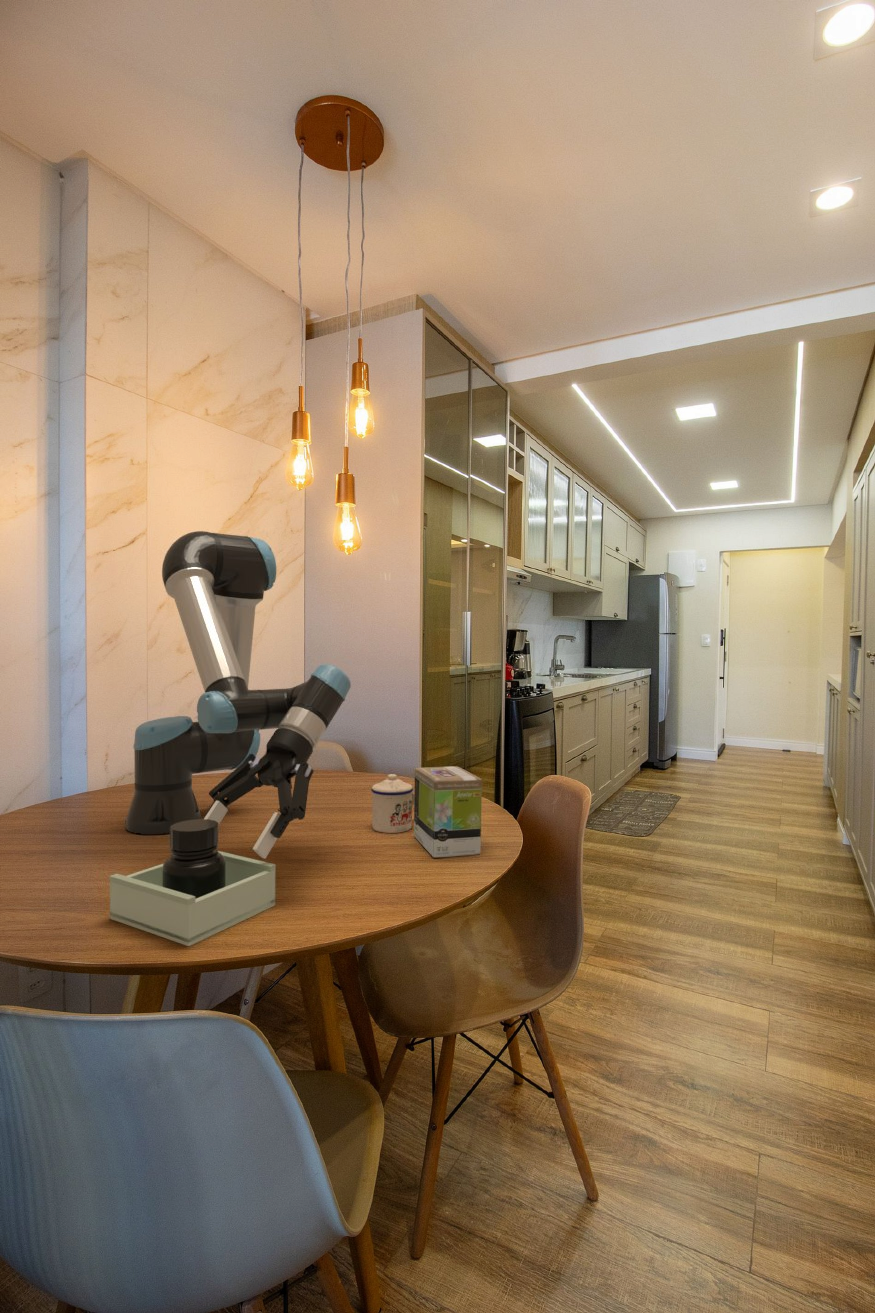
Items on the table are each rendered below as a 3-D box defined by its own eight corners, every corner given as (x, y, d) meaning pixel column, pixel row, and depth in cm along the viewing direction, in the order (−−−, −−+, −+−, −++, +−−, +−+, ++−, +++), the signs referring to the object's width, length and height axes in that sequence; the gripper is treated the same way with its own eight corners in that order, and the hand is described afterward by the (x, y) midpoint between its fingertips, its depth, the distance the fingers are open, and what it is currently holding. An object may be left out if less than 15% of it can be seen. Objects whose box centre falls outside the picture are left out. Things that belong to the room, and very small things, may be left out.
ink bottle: (219, 889, 105) (219, 814, 105) (235, 907, 98) (235, 827, 98) (154, 902, 100) (153, 823, 100) (166, 922, 93) (166, 837, 92)
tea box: (482, 855, 126) (483, 778, 126) (432, 859, 123) (432, 780, 123) (458, 833, 141) (458, 764, 140) (412, 836, 138) (412, 766, 138)
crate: (109, 919, 96) (109, 876, 96) (200, 884, 110) (200, 846, 110) (188, 946, 87) (188, 899, 87) (275, 905, 101) (275, 864, 101)
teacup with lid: (394, 836, 138) (394, 780, 138) (362, 829, 143) (362, 775, 143) (429, 824, 147) (429, 772, 147) (398, 817, 153) (398, 767, 153)
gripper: (360, 759, 112) (298, 873, 100) (256, 745, 125) (190, 845, 113) (340, 731, 108) (272, 847, 95) (234, 720, 121) (163, 821, 108)
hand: (228, 846), depth 104 cm, fingers open, 13 cm apart
